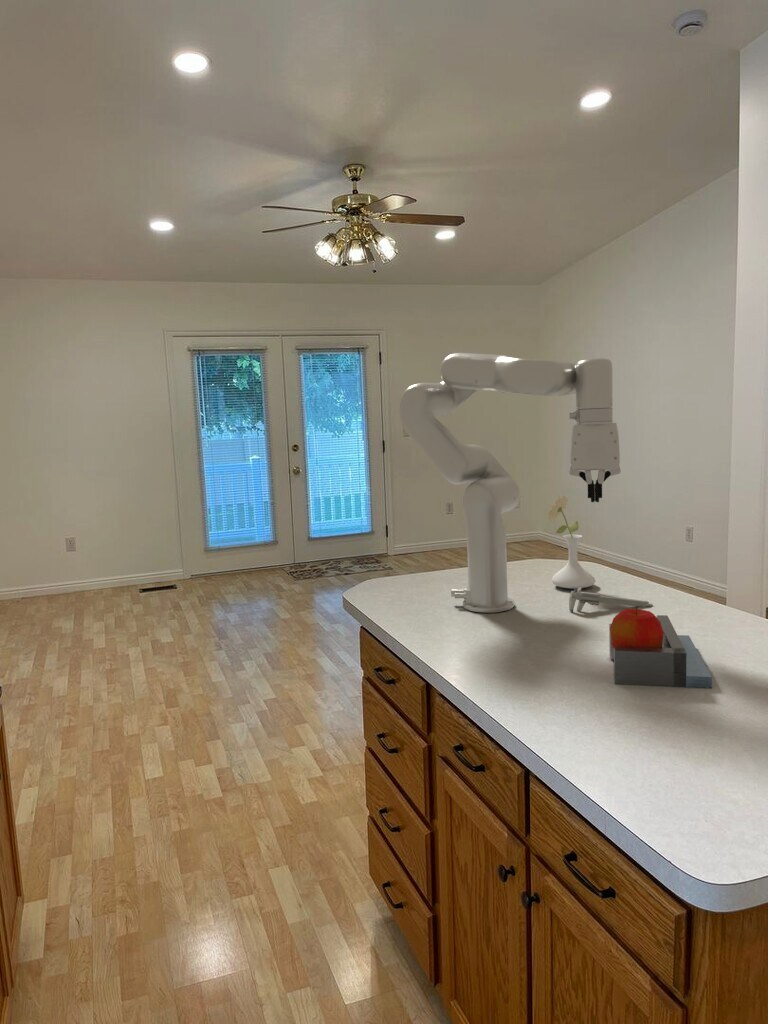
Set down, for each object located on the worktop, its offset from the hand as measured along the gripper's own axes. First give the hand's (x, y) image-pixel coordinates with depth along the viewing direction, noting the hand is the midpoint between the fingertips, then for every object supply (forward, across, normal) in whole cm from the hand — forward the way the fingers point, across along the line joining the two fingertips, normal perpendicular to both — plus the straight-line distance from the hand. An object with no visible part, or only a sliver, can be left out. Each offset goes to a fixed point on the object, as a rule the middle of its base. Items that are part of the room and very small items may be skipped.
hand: (594, 501), depth 154 cm
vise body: (+27, +9, -26) cm, 39 cm away
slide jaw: (+27, +6, -24) cm, 36 cm away
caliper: (+28, +4, +10) cm, 30 cm away
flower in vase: (+27, -5, +30) cm, 41 cm away
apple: (+27, +6, -30) cm, 41 cm away
